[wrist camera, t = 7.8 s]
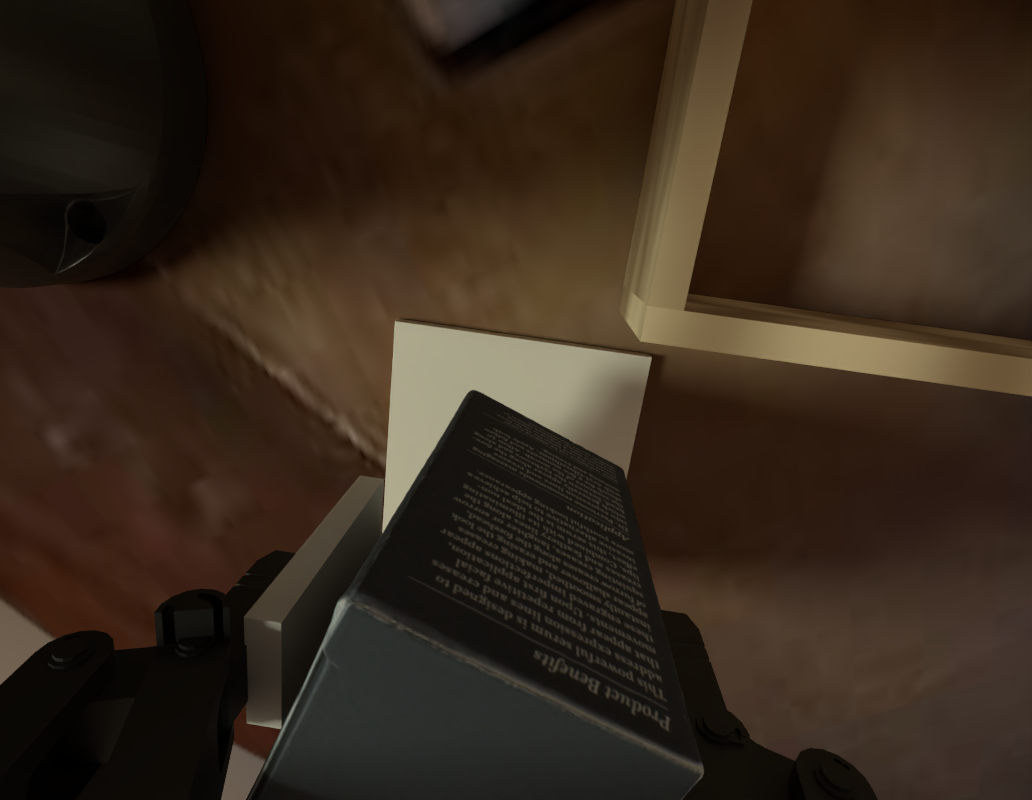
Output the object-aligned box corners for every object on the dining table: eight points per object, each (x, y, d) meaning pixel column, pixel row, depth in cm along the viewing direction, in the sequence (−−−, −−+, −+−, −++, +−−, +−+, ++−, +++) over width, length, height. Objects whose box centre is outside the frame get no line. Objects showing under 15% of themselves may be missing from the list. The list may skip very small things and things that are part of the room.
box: (515, 640, 20) (461, 1073, 9) (373, 569, 19) (160, 938, 9) (631, 464, 17) (722, 788, 7) (471, 380, 17) (331, 595, 7)
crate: (618, 310, 21) (640, 341, 15) (694, -103, 17) (762, -269, 11) (1124, 381, 20) (1344, 440, 15) (1327, -32, 16) (1734, -170, 11)
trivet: (385, 536, 25) (381, 543, 24) (399, 318, 22) (394, 321, 21) (604, 570, 25) (605, 578, 24) (649, 354, 21) (652, 357, 21)
